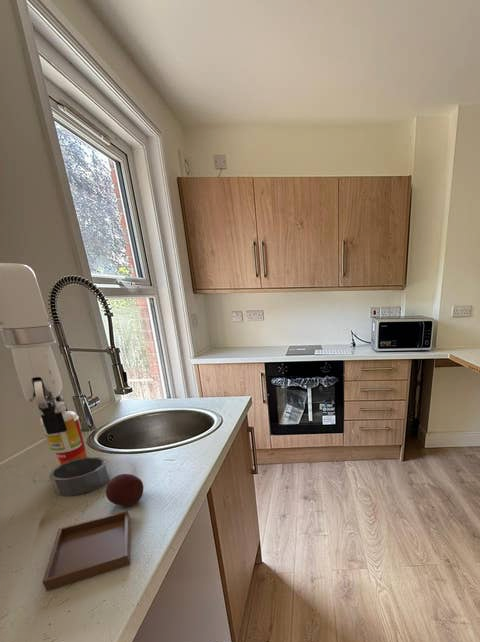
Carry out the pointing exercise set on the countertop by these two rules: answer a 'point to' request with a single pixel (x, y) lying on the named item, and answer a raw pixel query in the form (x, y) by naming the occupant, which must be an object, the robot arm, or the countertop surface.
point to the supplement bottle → (64, 433)
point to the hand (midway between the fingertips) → (59, 426)
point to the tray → (89, 550)
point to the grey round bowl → (80, 476)
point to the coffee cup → (74, 453)
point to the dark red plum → (124, 489)
